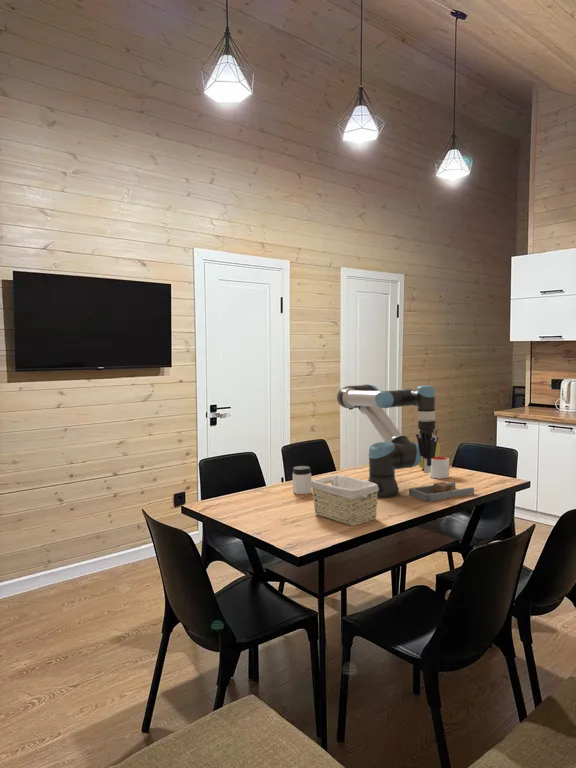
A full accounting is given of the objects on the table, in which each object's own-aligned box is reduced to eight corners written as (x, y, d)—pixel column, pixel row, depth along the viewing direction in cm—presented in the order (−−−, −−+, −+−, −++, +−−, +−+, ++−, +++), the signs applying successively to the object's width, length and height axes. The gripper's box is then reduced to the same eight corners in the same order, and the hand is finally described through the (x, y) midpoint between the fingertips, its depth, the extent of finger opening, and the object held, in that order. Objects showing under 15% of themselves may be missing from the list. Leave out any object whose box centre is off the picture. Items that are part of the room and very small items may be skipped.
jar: (314, 493, 266) (313, 468, 266) (297, 495, 264) (297, 470, 263) (306, 489, 275) (306, 465, 274) (291, 491, 272) (290, 466, 271)
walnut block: (442, 497, 255) (442, 486, 255) (433, 494, 261) (433, 483, 260) (452, 495, 258) (452, 484, 257) (443, 492, 263) (443, 481, 263)
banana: (423, 471, 307) (423, 434, 306) (414, 470, 311) (413, 434, 310) (442, 464, 325) (442, 429, 323) (433, 463, 328) (432, 429, 327)
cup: (425, 476, 296) (424, 457, 295) (440, 474, 300) (440, 455, 299) (437, 480, 287) (437, 460, 286) (453, 478, 291) (453, 458, 290)
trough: (428, 501, 247) (427, 495, 247) (409, 495, 259) (409, 488, 259) (473, 494, 258) (473, 487, 258) (453, 488, 270) (453, 481, 270)
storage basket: (381, 519, 224) (380, 483, 223) (352, 528, 214) (351, 490, 213) (338, 507, 242) (338, 473, 242) (310, 515, 232) (309, 479, 231)
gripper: (443, 421, 249) (443, 474, 250) (424, 418, 261) (424, 469, 262) (429, 422, 246) (430, 476, 247) (410, 419, 258) (411, 471, 259)
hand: (427, 472), depth 254 cm, fingers closed
